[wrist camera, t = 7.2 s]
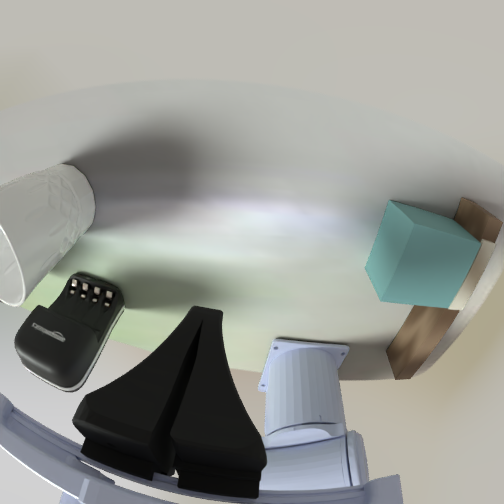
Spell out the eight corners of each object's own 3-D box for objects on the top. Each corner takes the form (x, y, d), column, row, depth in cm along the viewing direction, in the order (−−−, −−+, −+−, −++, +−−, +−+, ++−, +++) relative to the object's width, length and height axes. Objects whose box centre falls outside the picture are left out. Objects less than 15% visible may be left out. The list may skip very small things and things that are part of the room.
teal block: (427, 277, 21) (448, 308, 17) (364, 266, 21) (380, 301, 17) (452, 218, 18) (481, 243, 14) (388, 199, 18) (414, 223, 14)
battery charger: (126, 281, 23) (65, 377, 13) (128, 310, 25) (79, 402, 15) (68, 262, 23) (1, 339, 13) (74, 291, 25) (18, 367, 15)
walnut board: (400, 351, 26) (410, 381, 22) (386, 351, 26) (396, 381, 22) (475, 203, 17) (505, 224, 13) (461, 197, 17) (492, 218, 13)
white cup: (34, 162, 18) (-47, 204, 9) (95, 151, 18) (-1, 195, 9) (50, 238, 22) (-14, 297, 13) (109, 241, 21) (42, 316, 13)
